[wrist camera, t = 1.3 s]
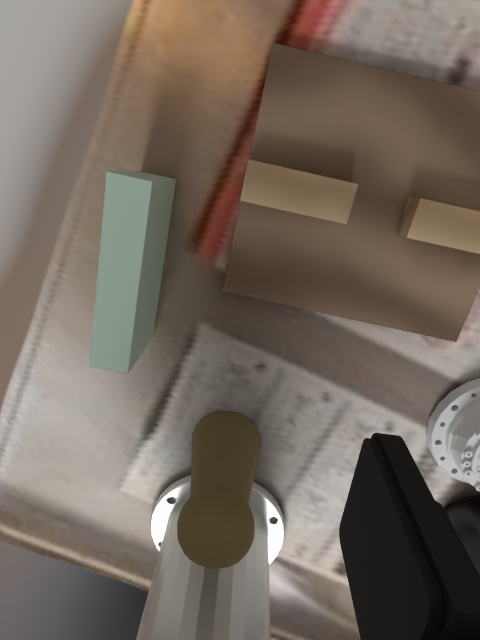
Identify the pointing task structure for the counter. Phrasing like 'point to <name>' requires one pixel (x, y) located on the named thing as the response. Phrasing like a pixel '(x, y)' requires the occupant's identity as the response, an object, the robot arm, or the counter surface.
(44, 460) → the counter surface
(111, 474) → the counter surface
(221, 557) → the cork
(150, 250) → the sage plate
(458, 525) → the supplement bottle
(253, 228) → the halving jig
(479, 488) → the mechanical component
